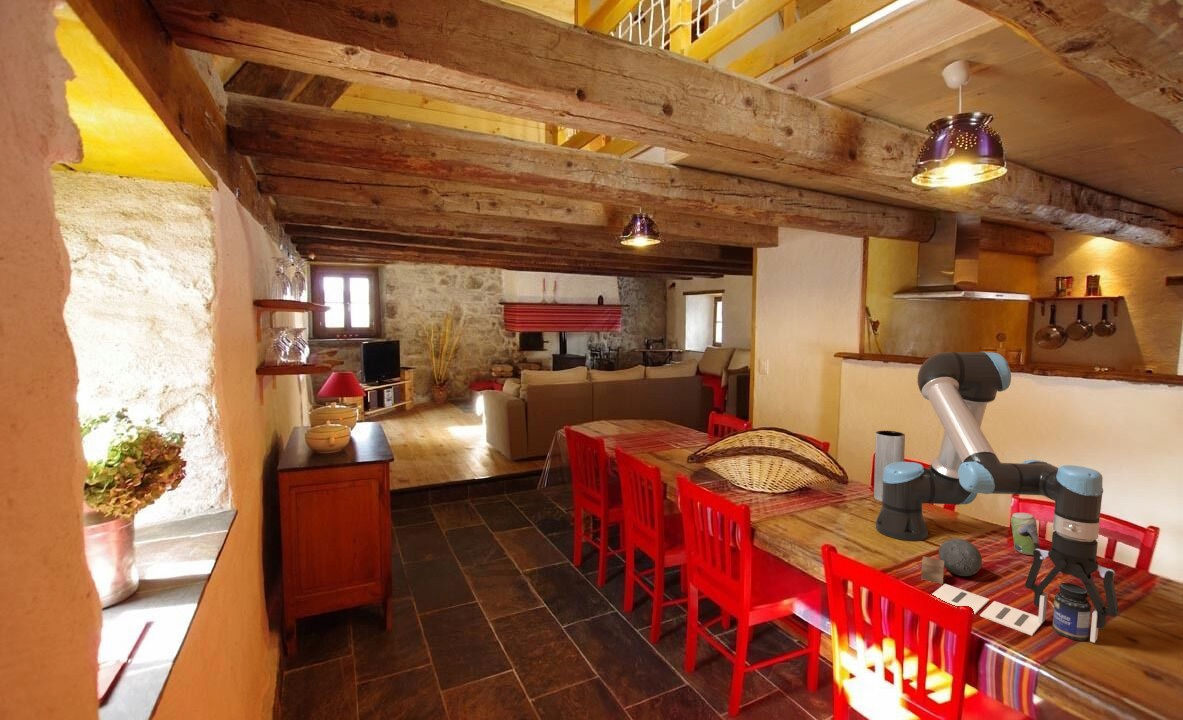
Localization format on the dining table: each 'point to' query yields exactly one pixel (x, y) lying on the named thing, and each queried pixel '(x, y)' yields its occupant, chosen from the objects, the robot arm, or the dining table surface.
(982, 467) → the robot arm
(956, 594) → the coaster
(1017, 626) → the coaster
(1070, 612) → the pill bottle
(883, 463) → the vase
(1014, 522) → the beverage can
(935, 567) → the walnut block
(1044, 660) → the dining table surface
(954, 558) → the decorative ball
